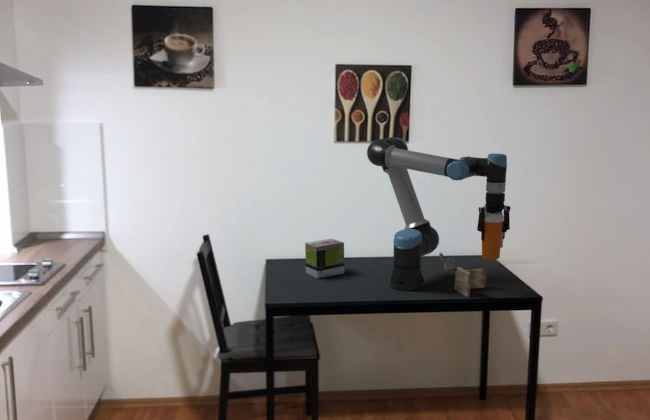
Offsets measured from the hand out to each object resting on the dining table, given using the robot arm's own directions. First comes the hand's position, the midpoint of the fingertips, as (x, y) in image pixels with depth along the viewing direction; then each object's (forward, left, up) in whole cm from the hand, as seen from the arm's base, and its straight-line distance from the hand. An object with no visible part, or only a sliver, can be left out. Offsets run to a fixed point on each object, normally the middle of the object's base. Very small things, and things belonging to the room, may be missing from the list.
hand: (492, 247), depth 264 cm
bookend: (-6, +1, -19) cm, 20 cm away
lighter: (-2, +34, -19) cm, 39 cm away
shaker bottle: (-1, 0, -4) cm, 4 cm away
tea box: (-58, +44, -19) cm, 75 cm away
